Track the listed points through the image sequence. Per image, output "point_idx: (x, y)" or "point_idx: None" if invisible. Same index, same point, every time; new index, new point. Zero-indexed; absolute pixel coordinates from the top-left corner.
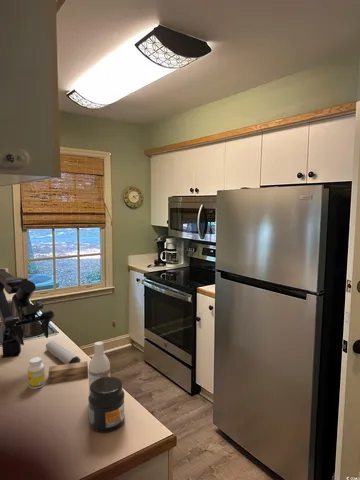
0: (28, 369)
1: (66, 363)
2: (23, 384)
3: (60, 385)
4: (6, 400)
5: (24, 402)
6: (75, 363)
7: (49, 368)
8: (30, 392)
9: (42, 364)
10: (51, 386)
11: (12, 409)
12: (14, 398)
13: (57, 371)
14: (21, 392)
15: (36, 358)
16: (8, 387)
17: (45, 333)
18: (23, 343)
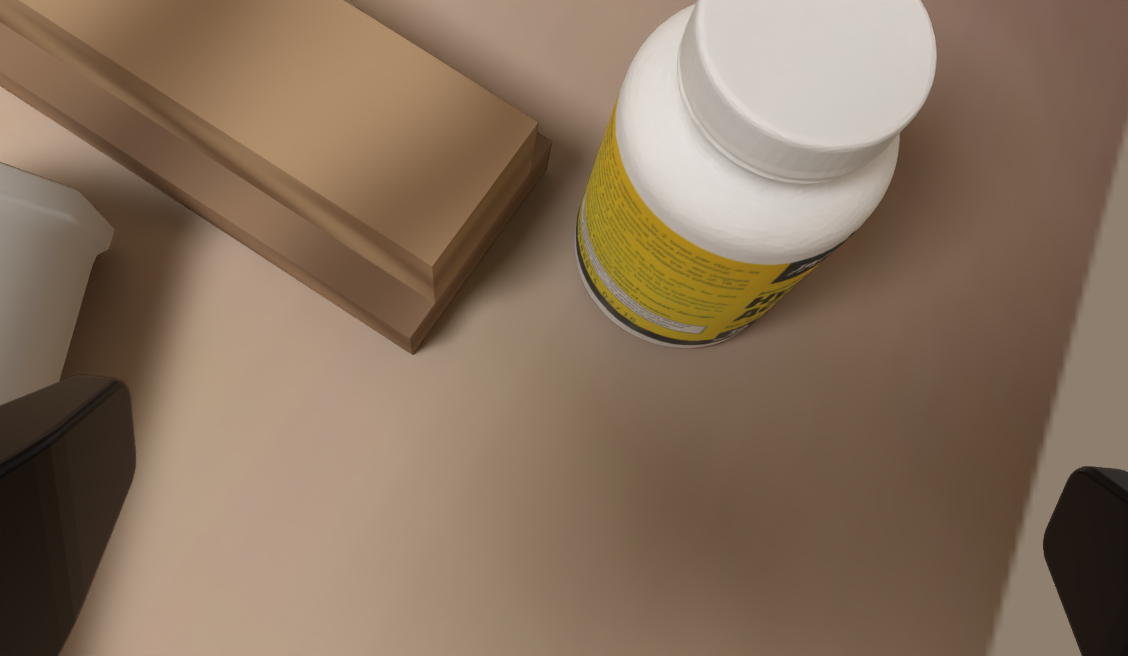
0: (899, 139)
1: (63, 321)
2: (794, 423)
3: (474, 12)
4: (1077, 228)
5: (940, 35)
6: (69, 5)
7: (466, 204)
8: None
9: (669, 41)
10: (563, 80)
11: (1075, 20)
12: (996, 194)
13: (420, 58)
14: (890, 251)
15: (782, 63)
16: (972, 514)
17: (30, 556)
18: (1106, 471)
